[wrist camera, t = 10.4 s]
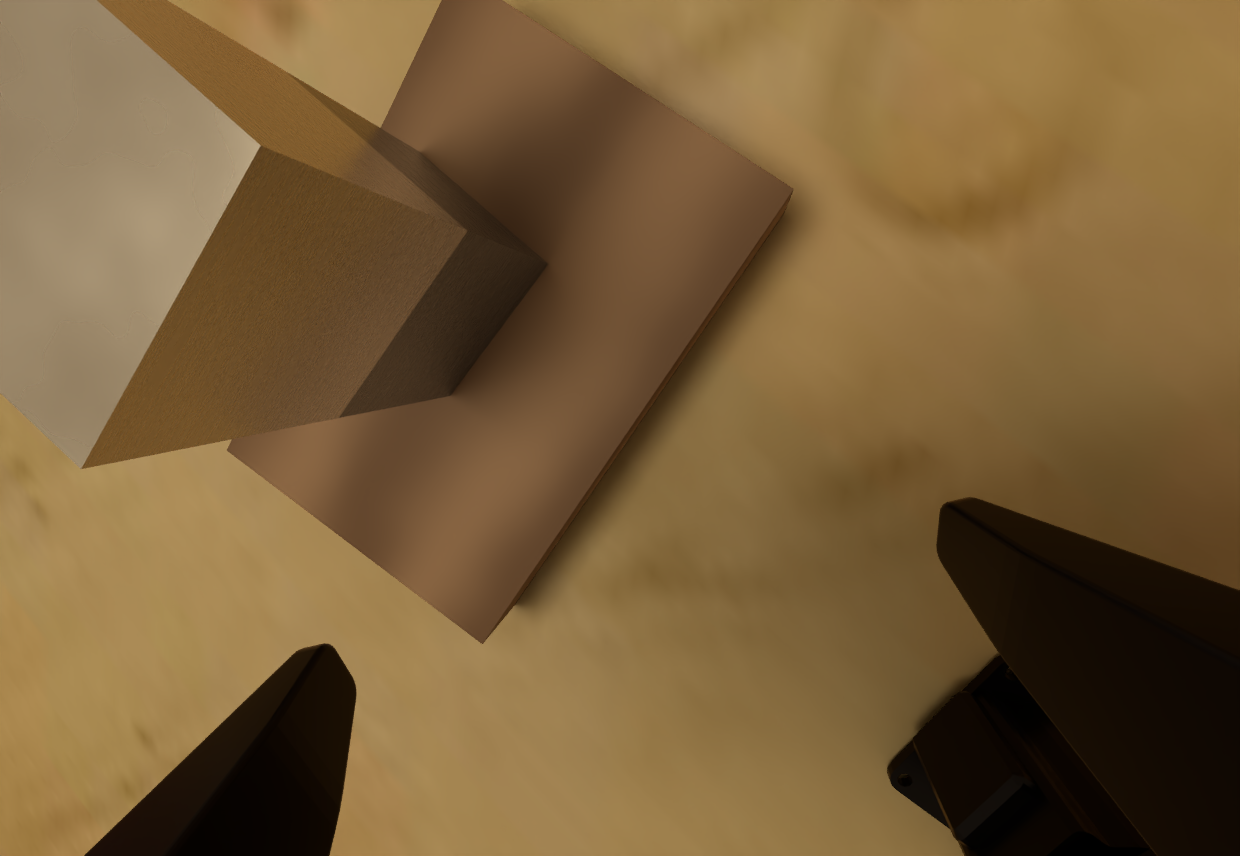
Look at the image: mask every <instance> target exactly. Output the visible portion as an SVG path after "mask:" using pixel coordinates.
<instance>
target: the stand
mask: <svg viewBox="0 0 1240 856" xmlns="http://www.w3.org/2000/svg"><path fill="white" fill-rule="evenodd" d="M381 129H383V130H384V131H386V132H388V133H389V134H391V135H393V136H394V137H396V138H398V139H399V140H401V141H403V142H404V143H406V144H408V145H409V146H411V147H413V148H414V149H416V150H418V151H419V152H421V153H422V154H423V155H424V156H425V157H426V158H427V159H429V160H430V161H431V162H432V163H433V164H434V165H436V166H437V167H438V168H439V169H440V170H441V171H442V172H444V173H445V174H446V175H447V176H448V177H449V178H450V179H452V180H453V181H454V182H455V183H456V184H457V185H458V186H460V187H461V188H462V189H463V190H464V191H465V192H467V193H468V194H469V195H470V196H471V197H472V198H473V199H475V200H476V201H477V202H478V203H479V204H480V205H481V206H483V207H484V208H485V209H486V210H487V211H488V212H490V213H491V214H492V215H493V216H494V217H495V218H496V219H498V220H499V221H500V222H501V223H502V224H503V225H504V226H506V227H507V228H508V229H509V230H510V231H511V232H513V233H514V234H515V235H516V236H517V237H518V238H519V239H521V240H522V241H523V242H524V243H525V244H526V245H527V246H529V247H530V248H531V249H532V250H533V251H534V252H536V253H537V254H538V255H539V256H540V257H541V258H542V259H544V260H545V261H546V262H547V263H548V266H547V267H546V268H545V270H544V271H543V272H542V274H541V275H540V276H539V278H538V279H537V280H536V282H535V283H534V284H533V286H532V287H531V288H530V290H529V291H528V292H527V294H526V295H525V297H524V298H523V299H522V301H521V302H520V303H519V305H518V306H517V307H516V309H515V310H514V311H513V313H512V314H511V315H510V317H509V318H508V319H507V321H506V322H505V323H504V325H503V326H502V327H501V329H500V330H499V331H498V333H497V334H496V335H495V337H494V338H493V339H492V341H491V342H490V343H489V345H488V346H487V347H486V349H485V350H484V351H483V353H482V354H481V355H480V357H479V358H478V360H477V361H476V362H475V364H474V365H473V366H472V368H471V369H470V370H469V372H468V373H467V374H466V376H465V377H464V378H463V380H462V381H461V382H460V384H459V385H458V386H457V388H456V389H455V390H454V392H453V393H452V394H451V396H448V397H443V398H438V399H433V400H428V401H423V402H417V403H412V404H407V405H402V406H397V407H392V408H387V409H382V410H377V411H372V412H367V413H362V414H357V415H352V416H347V417H342V418H337V419H332V420H327V421H322V422H316V423H311V424H306V425H301V426H296V427H291V428H286V429H281V430H276V431H271V432H266V433H261V434H256V435H251V436H246V437H241V438H236V439H232V441H231V443H230V445H229V447H228V449H227V451H228V452H230V453H231V454H232V455H234V456H235V457H236V458H238V459H239V460H240V461H242V462H243V463H244V464H245V465H247V466H248V467H249V468H251V469H252V470H253V471H255V472H256V473H257V474H259V475H260V476H261V477H263V478H264V479H265V480H267V481H268V482H269V483H271V484H272V485H273V486H274V487H276V488H277V489H278V490H280V491H281V492H282V493H284V494H285V495H286V496H288V497H289V498H290V499H292V500H293V501H294V502H296V503H297V504H298V505H300V506H301V507H302V508H303V509H305V510H306V511H307V512H309V513H310V514H311V515H313V516H314V517H315V518H317V519H318V520H319V521H321V522H322V523H323V524H325V525H326V526H327V527H329V528H330V529H331V530H333V531H334V532H335V533H336V534H338V535H339V536H340V537H342V538H343V539H344V540H346V541H347V542H348V543H350V544H351V545H352V546H354V547H355V548H356V549H358V550H359V551H360V552H362V553H363V554H364V555H365V556H367V557H368V558H369V559H371V560H372V561H373V562H375V563H376V564H377V565H379V566H380V567H381V568H383V569H384V570H385V571H387V572H388V573H389V574H391V575H392V576H393V577H395V578H396V579H397V580H398V581H400V582H401V583H402V584H404V585H405V586H406V587H408V588H409V589H410V590H412V591H413V592H414V593H416V594H417V595H418V596H420V597H421V598H422V599H424V600H425V601H426V602H427V603H429V604H430V605H431V606H433V607H434V608H435V609H437V610H438V611H439V612H441V613H442V614H443V615H445V616H446V617H447V618H449V619H450V620H451V621H453V622H454V623H455V624H457V625H458V626H459V627H460V628H462V629H463V630H464V631H466V632H467V633H468V634H470V635H471V636H472V637H474V638H475V639H476V640H478V641H479V642H480V643H482V644H483V643H484V642H485V640H486V639H487V638H488V637H489V636H490V634H491V633H492V632H493V631H494V629H495V628H496V627H497V626H498V625H499V623H500V622H501V621H502V620H503V619H504V617H505V616H506V615H507V614H508V613H509V611H510V610H511V609H512V608H513V606H514V605H515V604H516V602H517V601H518V599H519V598H520V596H521V595H522V594H523V592H524V591H525V589H526V588H527V586H528V585H529V583H530V582H531V580H532V579H533V578H534V576H535V575H536V573H537V572H538V570H539V569H540V567H541V566H542V564H543V563H544V562H545V560H546V559H547V557H548V556H549V554H550V553H551V551H552V550H553V548H554V547H555V546H556V544H557V543H558V541H559V540H560V538H561V537H562V535H563V534H564V532H565V531H566V529H567V528H568V527H569V525H570V524H571V522H572V521H573V519H574V518H575V516H576V515H577V513H578V512H579V511H580V509H581V508H582V506H583V505H584V503H585V502H586V500H587V499H588V497H589V496H590V495H591V493H592V492H593V490H594V489H595V487H596V486H597V484H598V483H599V481H600V480H601V479H602V477H603V476H604V474H605V473H606V471H607V470H608V468H609V467H610V465H611V464H612V463H613V461H614V460H615V458H616V457H617V455H618V454H619V452H620V451H621V449H622V448H623V447H624V445H625V444H626V442H627V441H628V439H629V438H630V436H631V435H632V433H633V432H634V431H635V429H636V428H637V426H638V425H639V423H640V422H641V420H642V419H643V417H644V416H645V415H646V413H647V412H648V410H649V409H650V407H651V406H652V404H653V403H654V401H655V400H656V399H657V397H658V396H659V394H660V393H661V391H662V390H663V388H664V387H665V385H666V384H667V383H668V381H669V380H670V378H671V377H672V375H673V374H674V372H675V371H676V369H677V368H678V367H679V365H680V364H681V362H682V361H683V359H684V358H685V356H686V355H687V353H688V352H689V351H690V349H691V348H692V346H693V345H694V343H695V342H696V340H697V339H698V337H699V336H700V335H701V333H702V332H703V330H704V329H705V327H706V326H707V324H708V323H709V321H710V320H711V319H712V317H713V316H714V314H715V313H716V311H717V310H718V308H719V307H720V305H721V304H722V303H723V301H724V300H725V298H726V297H727V295H728V294H729V292H730V291H731V289H732V288H733V287H734V285H735V284H736V282H737V281H738V279H739V278H740V276H741V275H742V273H743V272H744V271H745V269H746V268H747V266H748V265H749V263H750V262H751V260H752V259H753V257H754V256H755V255H756V253H757V252H758V250H759V249H760V247H761V246H762V244H763V243H764V241H765V240H766V239H767V237H768V236H769V234H770V233H771V231H772V230H773V228H774V227H775V225H776V224H777V223H778V221H779V220H780V218H781V217H782V215H783V214H784V212H785V210H786V207H787V205H788V202H789V200H790V197H791V195H792V192H793V190H794V189H793V188H791V187H790V186H788V185H787V184H785V183H784V182H782V181H780V180H779V179H777V178H776V177H774V176H773V175H771V174H770V173H768V172H767V171H765V170H763V169H762V168H760V167H759V166H757V165H756V164H754V163H753V162H751V161H750V160H748V159H746V158H745V157H743V156H742V155H740V154H739V153H737V152H736V151H734V150H733V149H731V148H730V147H728V146H726V145H725V144H723V143H722V142H720V141H719V140H717V139H716V138H714V137H713V136H711V135H709V134H708V133H706V132H705V131H703V130H702V129H700V128H699V127H697V126H696V125H694V124H693V123H691V122H689V121H688V120H686V119H685V118H683V117H682V116H680V115H679V114H677V113H676V112H674V111H672V110H671V109H669V108H668V107H666V106H665V105H663V104H662V103H660V102H659V101H657V100H655V99H654V98H652V97H651V96H649V95H648V94H646V93H645V92H643V91H642V90H640V89H639V88H637V87H635V86H634V85H632V84H631V83H629V82H628V81H626V80H625V79H623V78H622V77H620V76H618V75H617V74H615V73H614V72H612V71H611V70H609V69H608V68H606V67H605V66H603V65H601V64H600V63H598V62H597V61H595V60H594V59H592V58H591V57H589V56H588V55H586V54H585V53H583V52H581V51H580V50H578V49H577V48H575V47H574V46H572V45H571V44H569V43H568V42H566V41H564V40H563V39H561V38H560V37H558V36H557V35H555V34H554V33H552V32H551V31H549V30H548V29H546V28H544V27H543V26H541V25H540V24H538V23H537V22H535V21H534V20H532V19H531V18H529V17H527V16H526V15H524V14H523V13H521V12H520V11H518V10H517V9H515V8H514V7H512V6H510V5H509V4H507V3H506V2H504V1H503V0H442V1H441V3H440V5H439V7H438V9H437V11H436V13H435V16H434V18H433V20H432V22H431V24H430V26H429V28H428V30H427V32H426V34H425V36H424V39H423V41H422V43H421V45H420V47H419V49H418V51H417V53H416V55H415V57H414V60H413V62H412V64H411V66H410V68H409V70H408V72H407V74H406V76H405V78H404V80H403V83H402V85H401V87H400V89H399V91H398V93H397V95H396V97H395V99H394V101H393V103H392V106H391V108H390V110H389V112H388V114H387V116H386V118H385V120H384V122H383V124H382V127H381Z"/></svg>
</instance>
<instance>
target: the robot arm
mask: <svg viewBox="0 0 1240 856" xmlns="http://www.w3.org/2000/svg"><path fill="white" fill-rule="evenodd" d="M936 545H937V553H938V557H939V559H940V561H941V563H942V565H943V566H944V568H945V570H946V571H947V573H948V574H949V576H950V577H951V579H952V581H953V582H954V584H955V585H956V587H957V588H958V590H959V592H960V593H961V595H962V596H963V598H964V600H965V601H966V603H967V604H968V606H969V607H970V609H971V611H972V612H973V614H974V615H975V617H976V618H977V620H978V622H979V623H980V625H981V626H982V628H983V629H984V631H985V633H986V634H987V636H988V637H989V639H990V640H991V642H992V643H993V645H994V646H995V648H996V649H997V651H998V652H999V654H1000V655H999V656H998V657H996V658H995V659H994V660H993V661H992V662H991V663H990V664H989V665H988V666H987V667H986V668H985V669H984V670H983V671H982V672H981V673H980V674H979V675H978V676H977V677H976V678H975V679H974V680H973V681H972V682H971V683H970V684H969V685H968V686H967V687H966V688H965V689H964V690H963V691H962V692H959V693H957V694H956V695H955V696H954V697H953V698H952V699H951V700H950V701H949V702H948V703H947V704H946V705H945V706H944V707H943V708H942V709H941V710H940V711H939V712H938V713H937V714H936V715H935V716H934V717H933V718H932V719H931V720H930V721H929V722H928V723H927V724H926V725H925V726H924V727H923V728H922V729H921V730H920V731H919V732H918V733H917V734H916V735H915V736H914V738H913V741H912V742H911V743H910V744H909V745H908V746H907V747H906V748H905V749H904V750H903V751H902V752H901V753H900V754H899V755H898V756H897V757H896V758H895V759H894V760H893V761H892V762H891V763H890V765H889V766H888V768H887V773H888V776H889V779H890V782H891V784H892V786H893V787H894V788H895V789H896V790H897V791H899V792H900V793H901V794H903V795H904V796H906V797H907V798H908V799H910V800H911V801H912V802H914V803H915V804H916V805H918V806H919V807H921V808H922V809H923V810H925V811H926V812H927V813H929V814H930V815H932V816H933V817H934V818H936V819H937V820H938V821H940V822H941V823H942V824H944V825H945V826H947V827H948V828H949V829H950V830H951V832H952V834H953V836H954V838H955V839H956V840H957V841H958V843H959V845H960V847H961V849H962V851H963V854H964V856H1240V590H1237V589H1234V588H1231V587H1228V586H1226V585H1223V584H1220V583H1217V582H1214V581H1211V580H1208V579H1206V578H1203V577H1200V576H1197V575H1194V574H1191V573H1188V572H1186V571H1183V570H1180V569H1177V568H1174V567H1171V566H1169V565H1166V564H1163V563H1160V562H1157V561H1154V560H1151V559H1149V558H1146V557H1143V556H1140V555H1137V554H1134V553H1131V552H1129V551H1126V550H1123V549H1120V548H1117V547H1114V546H1111V545H1109V544H1106V543H1103V542H1100V541H1097V540H1094V539H1091V538H1089V537H1086V536H1083V535H1080V534H1077V533H1074V532H1071V531H1069V530H1066V529H1063V528H1060V527H1057V526H1054V525H1051V524H1049V523H1046V522H1043V521H1040V520H1037V519H1034V518H1032V517H1029V516H1026V515H1023V514H1020V513H1017V512H1014V511H1012V510H1009V509H1006V508H1003V507H1000V506H997V505H994V504H992V503H989V502H986V501H983V500H980V499H977V498H972V497H969V498H963V499H959V500H954V501H950V502H947V503H945V504H943V506H942V507H941V509H940V515H939V525H938V535H937V544H936ZM1009 667H1010V669H1011V670H1012V671H1013V673H1011V674H1005V671H1006V669H1007V668H1009ZM355 703H356V685H355V682H354V679H353V677H352V676H351V674H350V672H349V671H348V669H347V667H346V666H345V664H344V663H343V661H342V659H341V658H340V656H339V654H338V653H337V651H336V650H335V648H334V647H333V646H331V645H330V644H320V645H315V646H311V647H306V648H303V649H300V650H298V651H296V652H295V653H294V654H293V655H292V656H291V657H290V658H289V659H288V660H287V661H286V662H285V663H284V664H283V665H282V666H281V667H280V668H278V669H277V670H276V671H275V672H274V673H273V674H272V675H271V676H270V677H269V678H268V679H267V680H266V681H265V682H264V683H263V684H262V685H261V686H260V687H259V688H258V689H257V690H256V691H255V692H254V693H253V694H251V695H250V696H249V697H248V698H247V699H246V700H245V701H244V702H243V703H242V704H241V705H240V706H239V707H238V708H237V709H236V710H235V711H234V712H233V713H232V714H231V715H230V716H229V717H228V718H227V719H226V720H224V721H223V722H222V723H221V724H220V725H219V726H218V727H217V728H216V729H215V730H214V731H213V732H212V733H211V734H210V735H209V736H208V737H207V738H206V739H205V740H204V741H203V742H202V743H201V744H200V745H199V746H197V747H196V748H195V749H194V750H193V751H192V752H191V753H190V754H189V755H188V756H187V757H186V758H185V759H184V760H183V761H182V762H181V763H180V764H179V765H178V766H177V767H176V768H175V769H174V770H173V771H172V772H170V773H169V774H168V775H167V776H166V777H165V778H164V779H163V780H162V781H161V782H160V783H159V784H158V785H157V786H156V787H155V788H154V789H153V790H152V791H151V792H150V793H149V794H148V795H147V796H146V797H145V798H143V799H142V800H141V801H140V802H139V803H138V804H137V805H136V806H135V807H134V808H133V809H132V810H131V811H130V812H129V813H128V814H127V815H126V816H125V817H124V818H123V819H122V820H121V821H120V822H119V823H117V824H116V825H115V826H114V827H113V828H112V829H111V830H110V831H109V832H108V833H107V834H106V835H105V836H104V837H103V838H102V839H101V840H100V841H99V842H98V843H97V844H96V845H95V846H94V847H93V848H92V849H90V850H89V851H88V852H87V853H86V854H85V855H84V856H329V855H330V851H331V847H332V842H333V838H334V834H335V830H336V825H337V821H338V816H339V812H340V807H341V801H342V795H343V789H344V782H345V775H346V767H347V760H348V753H349V746H350V739H351V732H352V724H353V717H354V710H355ZM901 774H907V775H908V776H907V777H906V778H899V777H898V776H899V775H901Z"/></svg>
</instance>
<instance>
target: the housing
mask: <svg viewBox="0 0 1240 856" xmlns="http://www.w3.org/2000/svg"><path fill="white" fill-rule="evenodd" d="M547 266H548V263H547V262H546V261H545V260H544V259H542V258H541V257H540V256H539V255H538V254H537V253H536V252H534V251H533V250H532V249H531V248H530V247H529V246H527V245H526V244H525V243H524V242H523V241H522V240H521V239H519V238H518V237H517V236H516V235H515V234H514V233H513V232H511V231H510V230H509V229H508V228H507V227H506V226H504V225H503V224H502V223H501V222H500V221H499V220H498V219H496V218H495V217H494V216H493V215H492V214H491V213H490V212H488V211H487V210H486V209H485V208H484V207H483V206H481V205H480V204H479V203H478V202H477V201H476V200H475V199H473V198H472V197H471V196H470V195H469V194H468V193H467V192H465V191H464V190H463V189H462V188H461V187H460V186H458V185H457V184H456V183H455V182H454V181H453V180H452V179H450V178H449V177H448V176H447V175H446V174H445V173H444V172H442V171H441V170H440V169H439V168H438V167H437V166H436V165H434V164H433V163H432V162H431V161H430V160H429V159H427V158H426V157H425V156H424V155H423V154H422V153H421V152H419V151H418V150H416V149H414V148H413V147H411V146H409V145H408V144H406V143H404V142H403V141H401V140H399V139H398V138H396V137H394V136H393V135H391V134H389V133H388V132H386V131H384V130H383V129H381V128H379V127H378V126H376V125H374V124H373V123H371V122H369V121H368V120H366V119H364V118H363V117H361V116H359V115H358V114H356V113H354V112H353V111H351V110H349V109H348V108H346V107H344V106H343V105H341V104H339V103H338V102H336V101H334V100H333V99H331V98H329V97H328V96H326V95H324V94H323V93H321V92H319V91H318V90H316V89H314V88H313V87H311V86H309V85H308V84H306V83H304V82H303V81H301V80H299V79H298V78H296V77H294V76H293V75H291V74H289V73H288V72H286V71H284V70H283V69H281V68H279V67H278V66H276V65H274V64H273V63H271V62H269V61H268V60H266V59H264V58H263V57H261V56H259V55H258V54H256V53H254V52H253V51H251V50H249V49H248V48H246V47H244V46H243V45H241V44H239V43H238V42H236V41H234V40H233V39H231V38H229V37H228V36H226V35H224V34H223V33H221V32H219V31H218V30H216V29H214V28H213V27H211V26H209V25H208V24H206V23H204V22H203V21H201V20H199V19H198V18H196V17H194V16H193V15H191V14H189V13H188V12H186V11H184V10H183V9H181V8H179V7H178V6H176V5H174V4H173V3H171V2H169V1H168V0H0V393H1V394H2V395H3V396H4V397H5V398H6V399H7V400H8V401H9V402H10V403H12V404H13V405H14V406H15V407H16V408H17V409H18V410H19V411H20V412H21V413H22V414H23V415H24V416H25V417H26V418H27V419H28V420H30V421H31V422H32V423H33V424H34V425H35V426H36V427H37V428H38V429H39V430H40V431H41V432H42V433H43V434H44V435H45V436H46V437H48V438H49V439H50V440H51V441H52V442H53V443H54V444H55V445H56V446H57V447H58V448H59V449H60V450H61V451H62V452H63V453H64V454H66V455H67V456H68V457H69V458H70V459H71V460H72V461H73V462H74V463H75V464H76V465H77V466H78V467H79V468H80V469H84V468H89V467H94V466H99V465H104V464H109V463H114V462H119V461H124V460H130V459H135V458H140V457H145V456H150V455H155V454H160V453H165V452H170V451H175V450H180V449H185V448H190V447H195V446H200V445H205V444H210V443H215V442H220V441H226V440H231V439H236V438H241V437H246V436H251V435H256V434H261V433H266V432H271V431H276V430H281V429H286V428H291V427H296V426H301V425H306V424H311V423H316V422H322V421H327V420H332V419H337V418H342V417H347V416H352V415H357V414H362V413H367V412H372V411H377V410H382V409H387V408H392V407H397V406H402V405H407V404H412V403H417V402H423V401H428V400H433V399H438V398H443V397H448V396H451V394H452V393H453V392H454V390H455V389H456V388H457V386H458V385H459V384H460V382H461V381H462V380H463V378H464V377H465V376H466V374H467V373H468V372H469V370H470V369H471V368H472V366H473V365H474V364H475V362H476V361H477V360H478V358H479V357H480V355H481V354H482V353H483V351H484V350H485V349H486V347H487V346H488V345H489V343H490V342H491V341H492V339H493V338H494V337H495V335H496V334H497V333H498V331H499V330H500V329H501V327H502V326H503V325H504V323H505V322H506V321H507V319H508V318H509V317H510V315H511V314H512V313H513V311H514V310H515V309H516V307H517V306H518V305H519V303H520V302H521V301H522V299H523V298H524V297H525V295H526V294H527V292H528V291H529V290H530V288H531V287H532V286H533V284H534V283H535V282H536V280H537V279H538V278H539V276H540V275H541V274H542V272H543V271H544V270H545V268H546V267H547Z"/></svg>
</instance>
